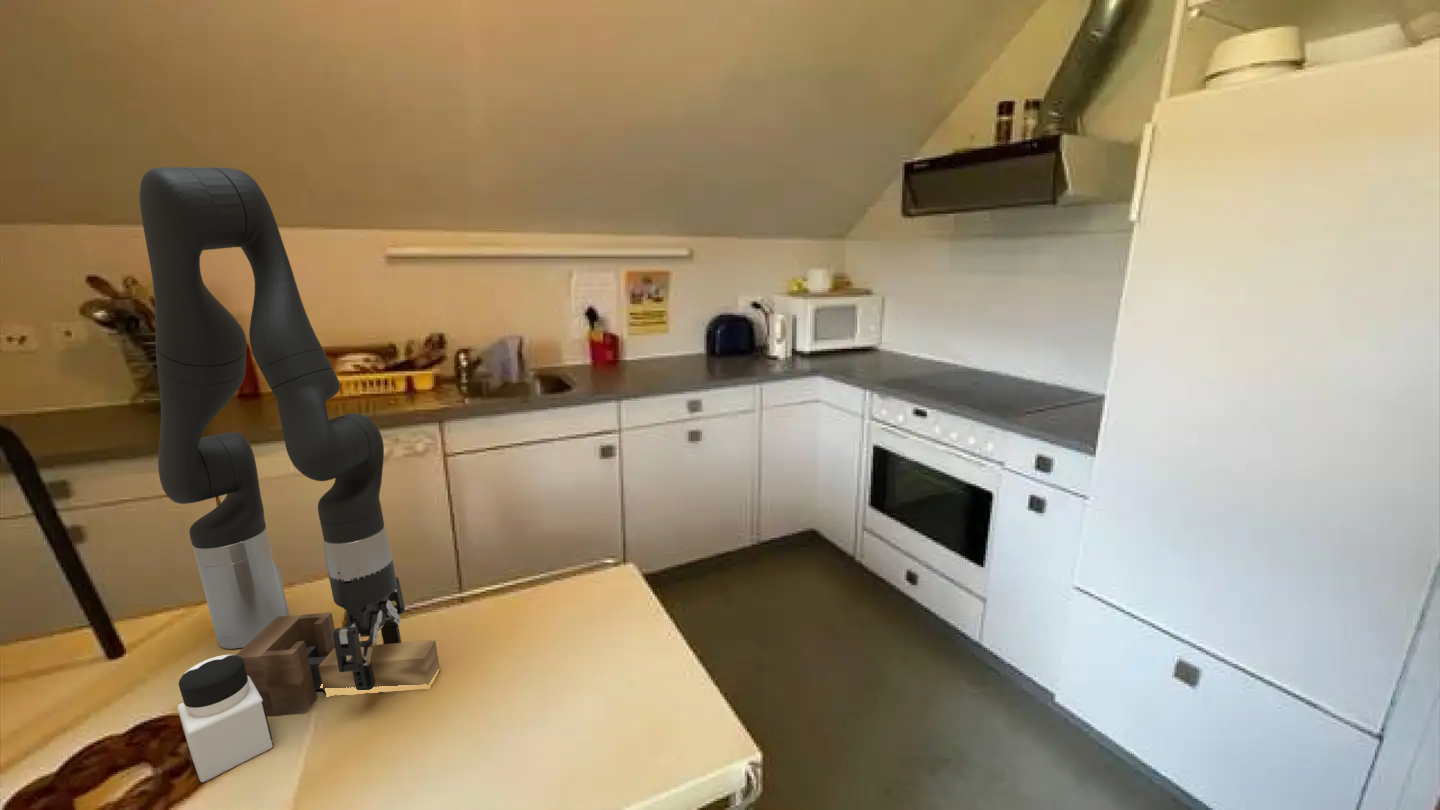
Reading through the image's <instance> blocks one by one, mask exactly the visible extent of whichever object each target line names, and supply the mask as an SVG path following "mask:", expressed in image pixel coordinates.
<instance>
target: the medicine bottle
mask: <svg viewBox="0 0 1440 810" xmlns="http://www.w3.org/2000/svg"><path fill="white" fill-rule="evenodd" d="M178 687H179V690H180V695H181V697H182V701H183V702H181V703H179V704H178V705H177V712H178V714H179V718H180V722H181V725H182V729H183V733H184V736H185V739H186V740H185V741H186V742H187V746H188V749H189V753H190V757H191V759H192V762H193V765H194V768H195V771H196V773H197V776H198V779H199V781H200V782H201V783H205V782H208V781H209V780H211V779H214V778H215V777H218V776H219V775H221V774H223V773H225V772H227V771H229V770H232V769H233V768H235V767H237V766H238V765H242V764H243V763H245V762H247V761H249V760H251V759H253V758H255V757H257V756H259V755H261V754H262V753H263V754H264V753H265V752H267V751H269V750H270V749H272V748H273V747H274V740H273V736H272V733H271V732H272V731H271V728H270V724H269V720H268V716H267V715H266V711H265V707H264V703H263V699H262V698H261V696H260V694H259V692H258V691H257V689H256V687H255V685H254V683H253V682H252V680H251V678H250V677H249V676H247V673H246V669H245V665H244V661H243V659H242V658H241V657H239V656H237V655H236V654H223V655H219V656H218V655H217V656H214V657H211V658H208V659H205V660H203V661H200V662H199V663H196V664H195V665H193V666H192V667H190V668H189V669H188V670H186V671H185V672H184V673H183V674H182V676H181V677H180V679H179V681H178Z"/></svg>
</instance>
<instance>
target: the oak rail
mask: <svg viewBox="0 0 1440 810" xmlns="http://www.w3.org/2000/svg"><path fill="white" fill-rule="evenodd" d="M437 648H438V647H437V643H436V640H434V639H433V640H423V641H410V642H407V641H406V642H402V643H394V644H383V643H382V644H376V645H375V646H374V647H373V648H372V653H371V660H370V662H371V663H372V668H373V673H374V678H375V685H374V687H377V686H378V687H379V686H398V685H421V684H422V685H423V684H427V685H429V683H430V682H431V680H432V678H433V677H434V675H435V674H436V672H437V670H438V669H439V667H440V661H439V656H438V649H437ZM307 653H308V658H309V662H310V667H311V671H312V676H313V681H314V685H315V690H320V689H319V688H320V686H321V684H323V688H324V689H325V688H346V687H347V688H349V687H350V688H351V687H354V688H355V682H354V677H353V672H352V671H349V672H339V668H338V662H337V656H336V650H335V648H334V649H333V650H332V651H331V652H330V653H329V655H328V656H327V657H318V652H317V648H316V646H312V647H308V648H307ZM361 653H362V657H363V654H364V647H361ZM347 658H348V656H346V659H347ZM440 668H441V667H440ZM324 689H323V690H324Z"/></svg>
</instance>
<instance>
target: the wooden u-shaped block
mask: <svg viewBox="0 0 1440 810" xmlns="http://www.w3.org/2000/svg"><path fill="white" fill-rule="evenodd" d="M335 629H336V628H335V622H334V618H333V613H332V612H321V613H319V612H318V613H310V614H309V613H308V614H298V615H297V614H296V615H288V616H280V617H276V618H275V619H274V620H273V621H272V622H271V623H270V624H269V625H267V626H266V627H265V628H264V629H263V630H262V631H261V632H260V633H259V634H258V635H257V636H256V637H254V638H253V639H252V640H251V641H250V642H249V643H248V644H247V645H246V646H245V647H242V648H241V649H240V650H239V651H238V652H237V653H236V654H235V655H237V656H239V657H241V658H242V659H243V661H244V665H245V669H246V673H247V676H249V677H250V678H251V680H252V682H253V683H254V685H255V687H256V689H257V691H258V692H259V694H260V696H261V698H262V699H263V703H264V707H265V711H266V715H267V717H274V716H286V715H296V714H307V712H308V711H309V710H310V708H311V707H312V706H313V705H314V703H315V702H316V701H317V700H316V698H317V699H318V693H317V691H316V690H315V685H314V681H313V676H312V671H311V667H310V662H309V658H308V653H307V648H308V647H312V646H316V648H317V652H318V657H327V656H328V655H329V653H330V652H331V651H332V650H333V649H334V648H335V644H334V638H333V632H334V630H335Z"/></svg>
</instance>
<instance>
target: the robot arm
mask: <svg viewBox="0 0 1440 810" xmlns="http://www.w3.org/2000/svg"><path fill="white" fill-rule="evenodd" d="M139 187H140V188H139V209H140V215H141V222H142V228H143V232H144V239H145V245H146V249H147V254H148V261H149V265H150V272H151V277H152V287H153V297H154V298H153V299H154V314H155V315H154V316H155V317H154V318H155V358H156V369H157V378H158V388H159V397H160V400H159V401H160V427H159V428H160V429H159V439H158V441H159V443H158V452H157V453H158V456H157V459H158V460H157V461H158V462H157V465H158V467H157V468H158V476H159V477H158V478H159V481H160V485H161V487H162V489H163V492H164V493H165V495H166V496H167V497H168V498H169V499H170V500H171V501H173V502H174V503H176V504H179V505H180V504H181V505H184V504H185V505H187V504H195V503H199V502H203V501H206V500H210V499H213V498H218V497H221V496H224V495H226V496H225V498H224V499H223V500H222V501H221V502H220V503H219V504H218V505H217V506H216V507H215V508H213V509H212V510H211V511H209V512H208V513H206V514H204V515H203V516H202V517H200V518H199V519H197V520H196V521H195V522H193V523H192V524H191V526H190V528H189V532H188V533H189V539H190V542H191V545H192V549H193V553H194V556H195V557H194V558H195V561H196V564H197V568H198V572H199V577H200V580H201V585H202V588H203V590H204V595H205V600H206V603H207V606H208V610H209V614H210V617H211V618H210V619H211V622H212V627H213V630H214V634H215V638H216V642H217V645H218V646H219V647H220V648H223V649H229V650H230V649H240V648H241V649H243V648H244V647H245V646H246V645H247V644H248V643H249V642H250V641H251V640H252V639H253V638H254V637H256V636H257V635H258V634H259V633H260V632H261V631H262V630H263V629H264V628H265V627H266V626H267V625H269V624H270V623H271V622H272V621H273V620H274V619H275V618H276V617H280V616H290V611H289V606H288V603H287V599H286V598H287V597H286V594H285V589H284V584H283V580H282V575H281V571H280V568H279V564H276V563H275V560H274V555H273V550H272V545H271V543H270V537H269V533H268V528H267V525H266V521H265V509H264V504H263V501H262V495H261V488H260V482H259V474H258V468H257V462H256V459H255V454H254V452H253V448H252V446H251V443H250V442H249V441H248V439H247V438H246V436H244V435H242V434H241V433H240V432H235V431H233V432H232V431H230V432H224V433H219V434H214V435H209V436H203V434H204V432H205V430H206V428H207V427H208V425H209V424H210V423H211V422H212V421H213V420H214V418H215V417H216V416H217V415H218V414H219V413H220V412H221V410H223V408H224V407H225V406H226V405H227V404H228V403H229V402H230V401H231V399H233V397H234V396H235V394H236V393H237V392H238V391H239V388H240V387H241V386H242V385H243V382H244V380H245V376H246V371H247V370H246V369H247V368H246V367H247V338H246V333H245V331H244V329H243V328H242V326H241V324H240V323H239V322H238V320H237V319H236V318H235V317H234V315H233V314H232V313H231V312H230V311H229V310H228V309H227V308H226V307H225V306H224V305H223V304H222V303H221V302H220V301H219V300H218V299H217V298H216V297H215V296H214V295H213V294H212V293H211V292H210V290H209V289H208V287H207V286H206V285H205V283H204V281H203V277H202V273H201V263H200V262H201V255H202V253H203V251H209V250H220V249H231V248H240V249H241V250H242V251H243V253H244V255H245V256H246V258H247V260H248V262H249V265H250V267H251V270H252V275H253V280H254V295H253V305H252V310H251V316H250V323H249V333H248V334H249V335H248V337H249V343H250V344H249V345H250V350H251V352H252V355H253V358H254V360H255V362H256V364H257V366H258V369H259V370H260V371H261V375H263V377H264V379H265V381H266V383H267V385H268V387H269V388H270V390H271V392H272V394H273V396H274V397H275V399H276V403H277V408H278V414H279V419H280V424H281V429H282V434H283V438H284V439H283V440H284V444H285V449H286V452H287V455H288V458H289V460H290V461H291V463H292V465H293V466H294V468H296V469H297V471H298V472H300V473H301V474H302V475H303V476H305V477H306V478H309V479H310V480H314V481H317V482H327V481H331V480H334V483H333V484H332V486H331V487H330V489H328V490H327V491H326V492H325V493H324V494H323V495H322V496H321V497H320V499H319V500H318V503H317V513H318V514H317V515H318V518H319V522H320V528H321V531H322V536H323V545H324V546H323V548H324V550H323V552H324V559H325V564H326V569H327V575H328V578H329V584H330V589H331V594H332V599H333V603H335V604H336V605H337V606H338V607H341V608H342V609H344V610H345V611H346V624H345V625H344V626H343V627H337V628H335V630H334V632H333V638H334V644H335V650H336V656H337V662H338V668H339V672H349V671H352V672H353V677H354V682H355V687H356V689H357V690H370V689H372V688H373V687H374V685H375V678H374V673H373V668H372V663H371V662H370V660H371V653H372V648H373V647H374V646H375V645H378V635H379V632H380V633H381V638H382V644H394V643H403V642H402V637H401V632H400V626H399V625H400V622H401V616H400V614H404V613H405V611H406V610H405V609H406V607H405V602H404V598H403V593H402V587H401V583H400V578H399V577H398V576H396V572H395V566H394V560H393V555H392V554H393V553H392V549H391V543H390V539H389V536H388V533H387V530H386V527H385V522H384V515H383V510H382V505H381V501H380V493H381V487H382V480H383V479H382V477H383V469H384V468H383V467H384V459H385V458H384V457H385V456H384V455H385V451H384V448H385V446H384V440H383V437H382V434H381V432H380V430H379V427H378V426H377V425H376V423H375V422H374V421H373V420H372V419H371V418H369V417H368V416H366V415H364V414H360V413H347V414H346V413H345V414H341V415H339V416H336V417H334V418H330V419H329V415H328V409H327V402H328V400H331V399H332V398H333V397H335V396H336V395H337V394H338V393H339V392H340V390H341V384H340V383H341V382H340V380H339V378H338V376H337V373H336V371H335V370H334V369H333V366H332V364H331V362H330V360H329V358H328V356H327V354H326V352H325V350H324V348H323V346H322V344H321V342H320V341H319V338H318V337H317V335H316V333H315V331H314V329H313V326H312V324H311V322H310V320H309V318H308V317H309V316H308V314H307V312H306V309H305V307H304V304H303V300H302V298H301V295H300V291H299V287H298V286H297V282H296V279H295V276H294V272H293V269H292V266H291V262H290V260H289V257H288V254H287V251H286V248H285V245H284V242H283V240H282V239H283V238H282V236H281V233H280V230H279V226H278V223H277V221H276V218H275V216H274V212H273V210H272V208H271V205H270V204H269V201H268V199H267V197H266V195H265V193H264V191H263V190H262V189H261V187H260V185H259V184H258V183H257V181H256V180H255V179H254V178H253V177H252V176H250V174H248V173H247V172H244V171H243V170H240V169H237V168H230V167H210V166H209V167H207V166H206V167H203V166H202V167H201V166H199V167H197V166H196V167H195V166H194V167H191V166H189V167H188V166H187V167H186V166H180V167H179V166H169V167H167V166H165V167H163V166H162V167H154V168H151V169H149V170H148V171H146V172H145V173H144V175H143V177H142V178H141V182H140V186H139ZM202 436H203V437H202ZM392 602H395V604H396V605H393V603H392ZM362 637H363V638H365V637H368V638H367V639H366V640H360V638H362ZM361 647H364V654H363V657H362V653H361ZM346 656H348V658H347V659H346Z"/></svg>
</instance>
